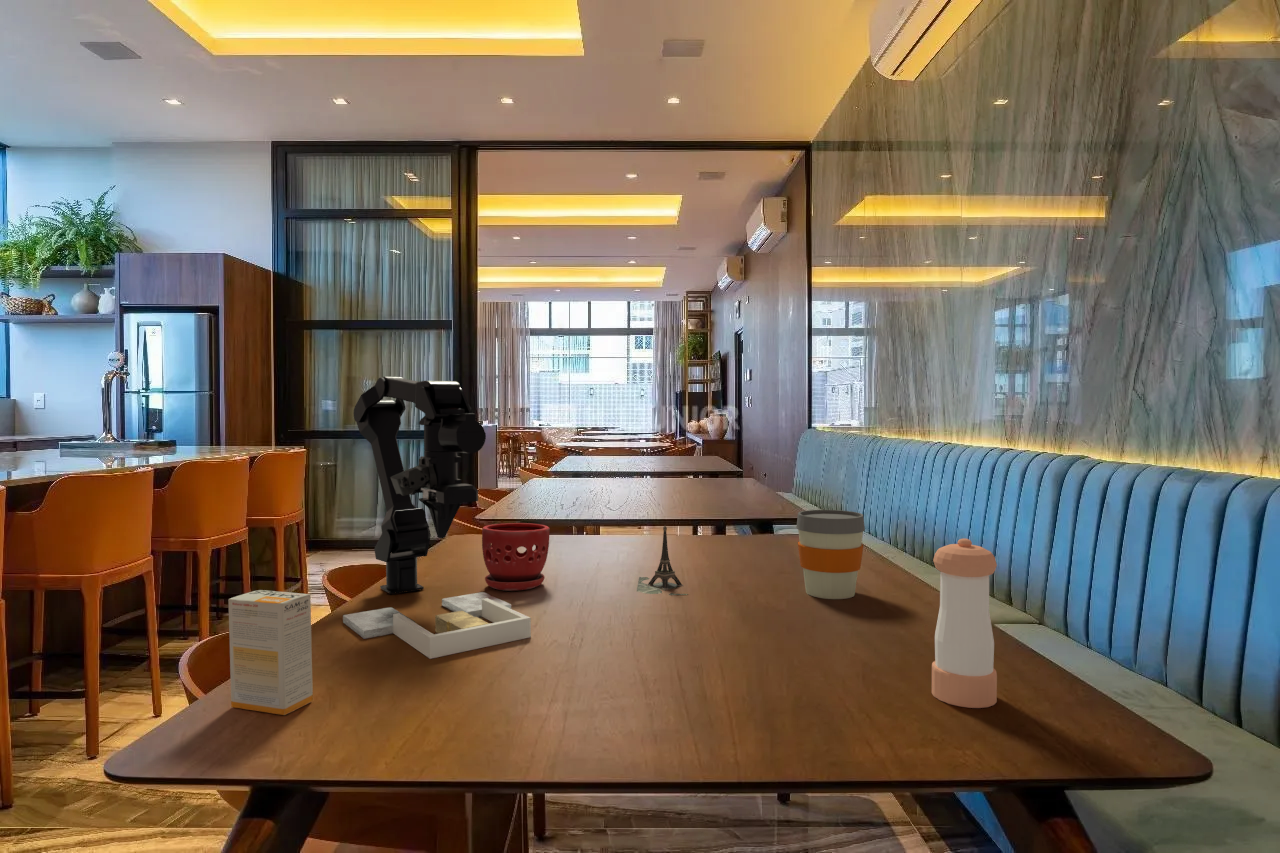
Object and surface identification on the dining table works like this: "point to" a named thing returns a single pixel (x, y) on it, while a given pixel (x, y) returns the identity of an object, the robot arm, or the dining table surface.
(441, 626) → the tan block
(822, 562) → the reusable coffee cup
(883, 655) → the dining table surface
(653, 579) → the eiffel tower figurine
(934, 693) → the salt shaker
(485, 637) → the tray
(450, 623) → the beige wooden block
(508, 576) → the plant pot
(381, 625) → the plate
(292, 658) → the supplement box
